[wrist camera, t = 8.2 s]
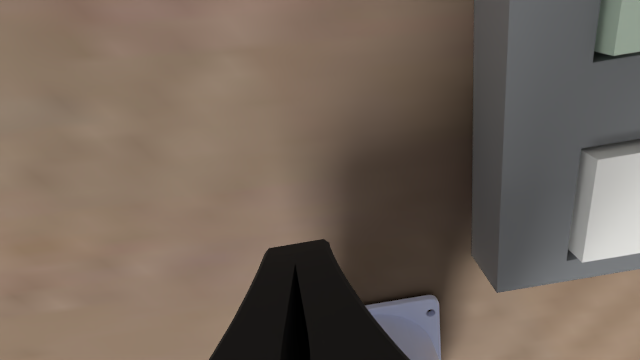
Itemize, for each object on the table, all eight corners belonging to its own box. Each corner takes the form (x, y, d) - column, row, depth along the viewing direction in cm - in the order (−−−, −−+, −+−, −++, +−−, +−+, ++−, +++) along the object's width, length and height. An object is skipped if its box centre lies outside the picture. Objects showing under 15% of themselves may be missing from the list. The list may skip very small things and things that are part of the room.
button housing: (692, 218, 23) (748, 250, 20) (471, 255, 23) (496, 292, 20) (804, -184, 15) (916, -218, 13) (475, -129, 15) (516, -152, 13)
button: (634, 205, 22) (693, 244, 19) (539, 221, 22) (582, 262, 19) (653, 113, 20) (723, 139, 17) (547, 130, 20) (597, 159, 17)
